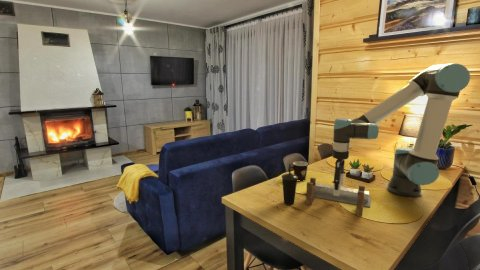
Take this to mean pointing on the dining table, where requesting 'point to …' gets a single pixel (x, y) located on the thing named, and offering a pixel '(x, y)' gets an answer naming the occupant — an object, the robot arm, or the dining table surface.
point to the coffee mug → (300, 169)
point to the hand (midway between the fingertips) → (338, 190)
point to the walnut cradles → (311, 195)
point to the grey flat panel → (342, 199)
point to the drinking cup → (289, 187)
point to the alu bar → (344, 192)
